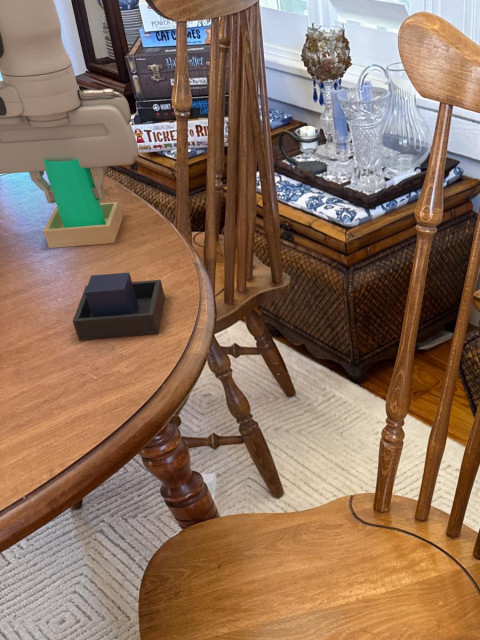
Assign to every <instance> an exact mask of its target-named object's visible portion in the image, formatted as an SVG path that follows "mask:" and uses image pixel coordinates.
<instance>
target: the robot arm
mask: <svg viewBox="0 0 480 640" xmlns="http://www.w3.org/2000/svg"><path fill="white" fill-rule="evenodd" d="M55 3H56V2H55V0H0V75H1V78H2V80H1V81H0V175H7V174H8V175H9V174H20V173H28V174H29V176H30V180H31V181H32V182H33V184H35V185H36V186H37V187H38V188H39V189H40V190H41V191H42V192H43V193H44V196H45V199H46V202H47V203H48V204H56V201H55V198H54V195H53V192H52V189H51V186H50V183H49V181H47V180H46V179H45V178H44V174H45V172H46V166H45V163H44V160H49V161H56V162H63V161H72V160H74V159H78V161H79V164H80V166H81V167H82V168H90V169H92V174H93V175H94V176H97V180H96V182H94V184H95V186H94V187H93V188H92V189H93V193H94V196H95V199H96V200H99V201H100V200H105V198H106V192H105V188H104V185H103V183H104V180H105V177H106V173H107V167H117V166H131V165H133V164H135V163H136V161H137V159H138V157H139V154H140V149H139V145H138V142H137V138H136V135H135V132H134V130H133V127H132V125H131V120H132V112H131V109H130V104H129V102H128V99H127V98H126V97H125V96H124V95H123V94H122V93H120V92H118V91H115V89H113V88H103V89H79V84H78V82H77V78H76V73H75V71H74V68H73V64H72V60H71V58H70V56H69V53H67V51H66V49H65V46H64V43H63V39H62V25H61V20H60V17H59V14H58V10H57V7H56V4H55Z"/></svg>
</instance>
